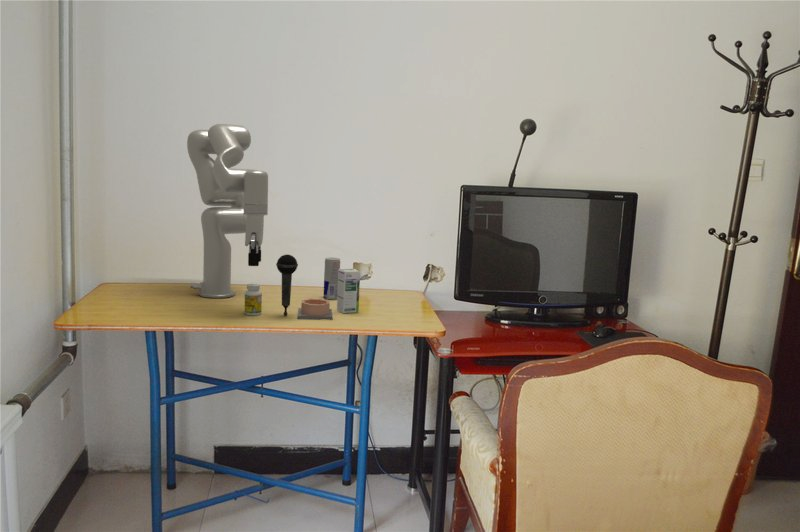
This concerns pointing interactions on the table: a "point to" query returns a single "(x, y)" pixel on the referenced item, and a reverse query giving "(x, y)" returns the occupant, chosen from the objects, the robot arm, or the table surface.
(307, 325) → the table surface
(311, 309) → the terracotta bowl
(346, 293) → the syrup box
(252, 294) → the supplement bottle
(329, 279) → the beverage can
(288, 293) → the microphone
